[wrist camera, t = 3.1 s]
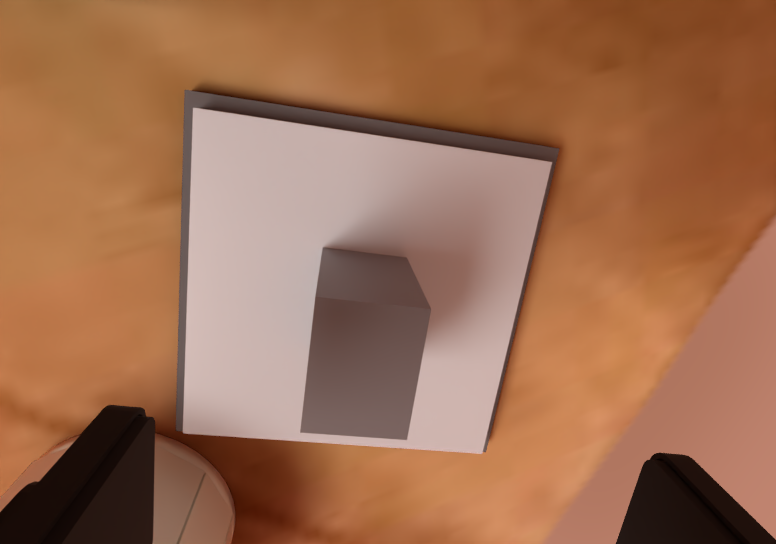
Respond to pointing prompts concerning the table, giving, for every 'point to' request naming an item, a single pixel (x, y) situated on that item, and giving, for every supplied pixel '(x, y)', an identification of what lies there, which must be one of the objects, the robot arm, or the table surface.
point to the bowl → (167, 493)
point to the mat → (342, 123)
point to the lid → (350, 283)
